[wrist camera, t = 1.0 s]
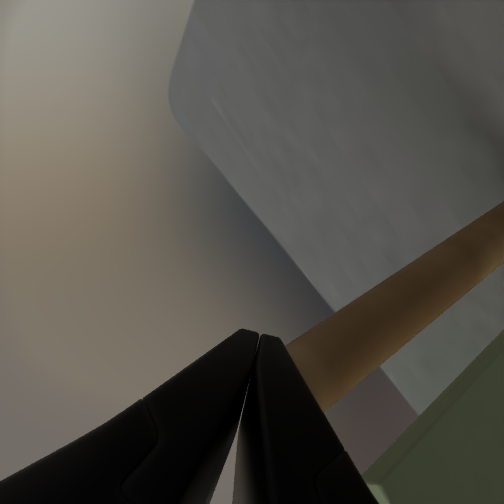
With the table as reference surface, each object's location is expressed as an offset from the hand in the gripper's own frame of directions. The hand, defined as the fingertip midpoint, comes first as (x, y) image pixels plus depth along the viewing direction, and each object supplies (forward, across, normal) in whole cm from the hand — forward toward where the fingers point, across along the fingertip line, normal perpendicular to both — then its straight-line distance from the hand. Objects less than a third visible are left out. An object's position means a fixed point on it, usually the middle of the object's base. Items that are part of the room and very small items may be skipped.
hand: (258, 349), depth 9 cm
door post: (+11, +9, +1) cm, 14 cm away
